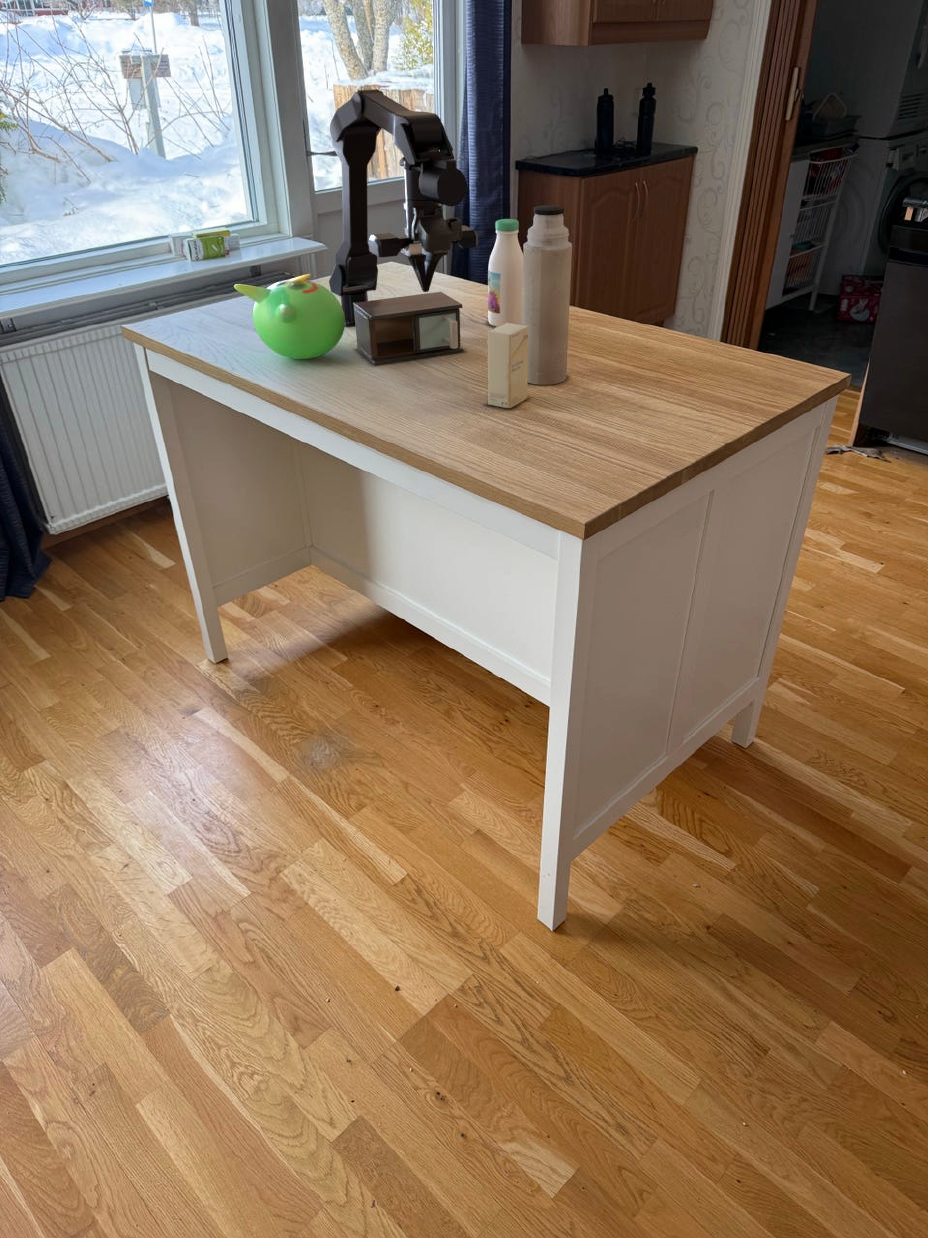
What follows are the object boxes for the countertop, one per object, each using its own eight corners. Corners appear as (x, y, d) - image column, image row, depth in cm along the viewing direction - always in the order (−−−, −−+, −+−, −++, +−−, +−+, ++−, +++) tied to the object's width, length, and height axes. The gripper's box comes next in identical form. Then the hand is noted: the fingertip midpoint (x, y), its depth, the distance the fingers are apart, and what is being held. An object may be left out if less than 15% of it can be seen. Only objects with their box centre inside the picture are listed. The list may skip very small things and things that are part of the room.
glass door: (415, 352, 170) (413, 314, 166) (459, 345, 173) (458, 308, 169) (426, 360, 165) (424, 322, 161) (471, 353, 168) (470, 315, 164)
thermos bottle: (528, 368, 164) (531, 201, 148) (570, 372, 161) (578, 203, 146) (516, 382, 157) (518, 209, 142) (560, 386, 155) (567, 211, 139)
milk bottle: (525, 317, 191) (527, 216, 180) (524, 328, 185) (525, 224, 174) (489, 317, 192) (489, 216, 181) (486, 327, 185) (486, 224, 174)
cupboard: (357, 350, 175) (353, 302, 170) (442, 337, 180) (441, 291, 175) (374, 365, 167) (371, 316, 162) (463, 352, 172) (462, 304, 167)
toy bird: (365, 355, 172) (358, 275, 164) (295, 377, 162) (284, 293, 154) (306, 337, 182) (297, 261, 174) (237, 357, 172) (224, 278, 164)
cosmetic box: (510, 409, 146) (510, 334, 140) (486, 405, 148) (486, 331, 142) (528, 397, 151) (529, 324, 144) (505, 393, 153) (505, 321, 146)
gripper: (386, 210, 145) (392, 308, 153) (491, 200, 151) (490, 296, 159) (364, 199, 153) (371, 293, 162) (464, 190, 159) (465, 281, 168)
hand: (425, 291), depth 163 cm, fingers closed
